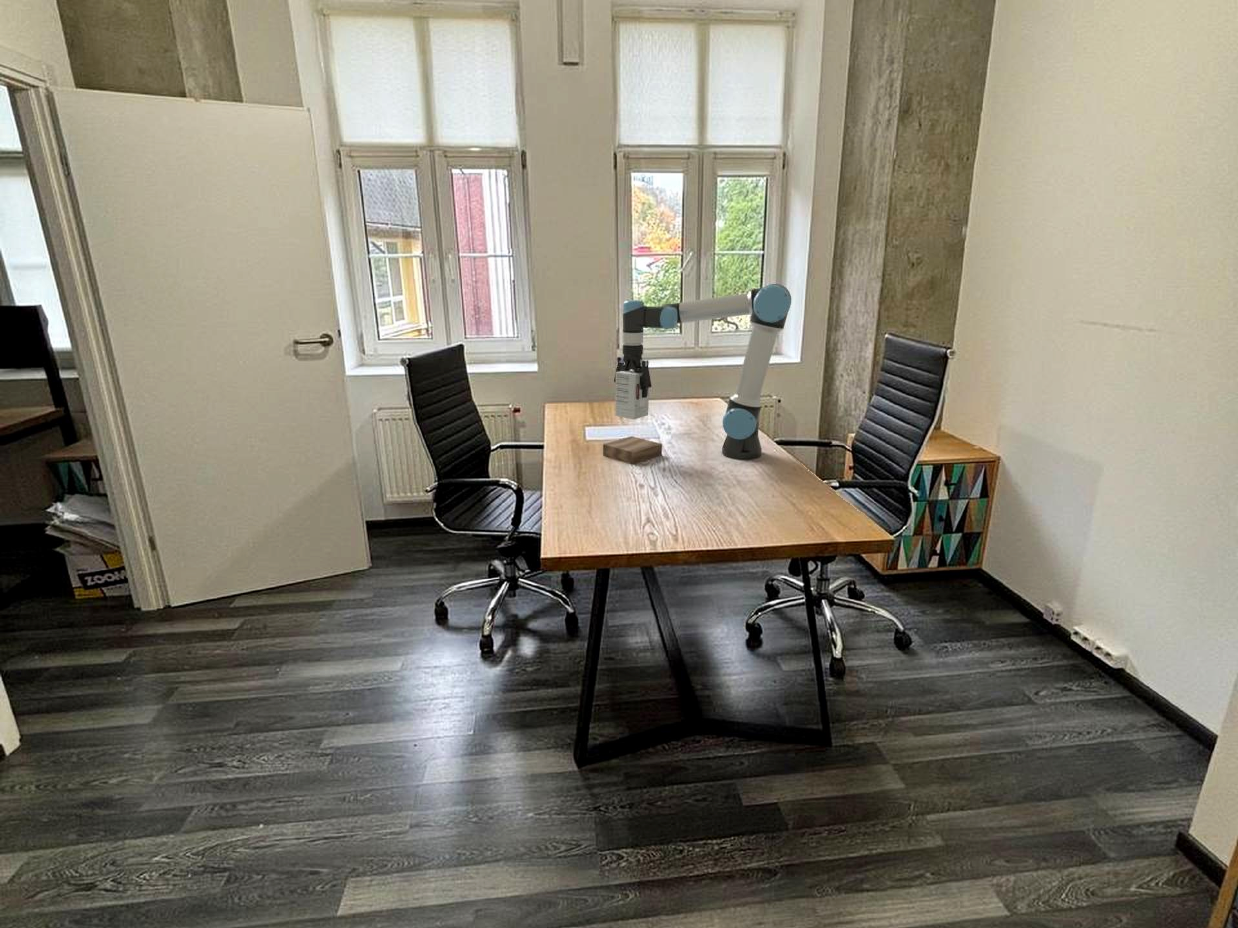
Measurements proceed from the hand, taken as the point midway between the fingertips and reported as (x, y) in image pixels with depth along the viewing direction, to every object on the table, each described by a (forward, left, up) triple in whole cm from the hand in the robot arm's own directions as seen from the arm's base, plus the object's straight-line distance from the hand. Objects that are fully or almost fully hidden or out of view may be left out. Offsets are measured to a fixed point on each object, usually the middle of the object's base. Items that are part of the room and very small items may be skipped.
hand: (632, 403), depth 242 cm
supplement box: (0, 0, -5) cm, 5 cm away
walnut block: (0, 0, -21) cm, 21 cm away
